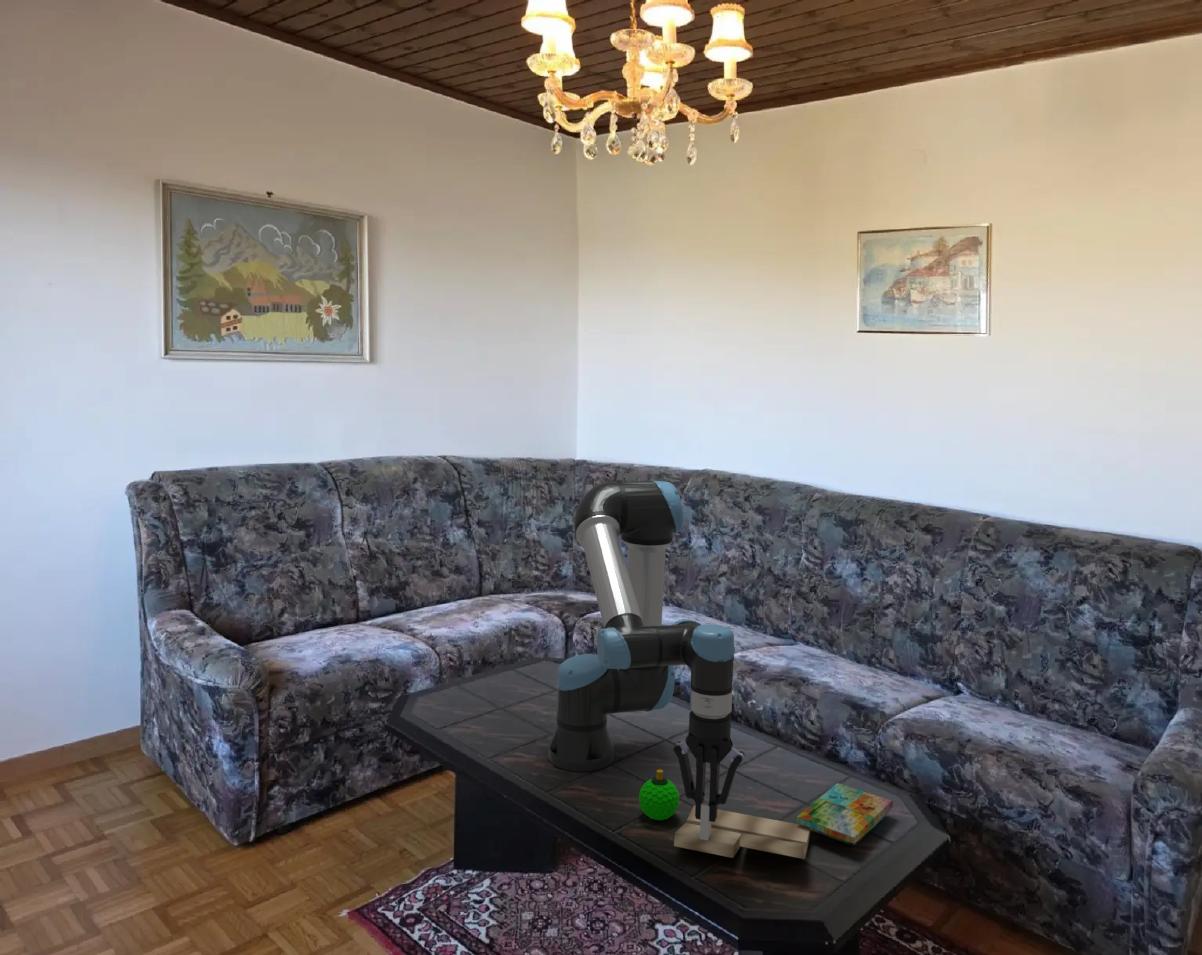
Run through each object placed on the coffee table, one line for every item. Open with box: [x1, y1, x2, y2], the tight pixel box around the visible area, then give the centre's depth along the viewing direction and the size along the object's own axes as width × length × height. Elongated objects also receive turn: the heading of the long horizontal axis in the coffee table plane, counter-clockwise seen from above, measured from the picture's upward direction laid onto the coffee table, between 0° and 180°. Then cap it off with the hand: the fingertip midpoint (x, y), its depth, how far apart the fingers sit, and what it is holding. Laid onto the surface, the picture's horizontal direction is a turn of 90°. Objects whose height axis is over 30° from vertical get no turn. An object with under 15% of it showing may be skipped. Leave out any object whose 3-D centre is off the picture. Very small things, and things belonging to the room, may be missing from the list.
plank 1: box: [673, 822, 741, 858], centre depth 165 cm, size 11×9×2 cm
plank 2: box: [739, 833, 807, 860], centre depth 162 cm, size 11×9×2 cm
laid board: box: [685, 804, 811, 858], centre depth 172 cm, size 23×7×2 cm, turn 71°
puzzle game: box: [795, 783, 894, 847], centre depth 175 cm, size 12×5×20 cm
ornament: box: [638, 769, 680, 821], centre depth 177 cm, size 8×8×10 cm
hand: (705, 835), depth 162 cm, fingers closed
